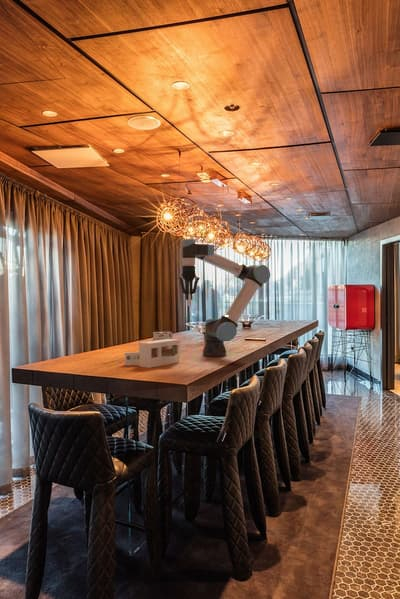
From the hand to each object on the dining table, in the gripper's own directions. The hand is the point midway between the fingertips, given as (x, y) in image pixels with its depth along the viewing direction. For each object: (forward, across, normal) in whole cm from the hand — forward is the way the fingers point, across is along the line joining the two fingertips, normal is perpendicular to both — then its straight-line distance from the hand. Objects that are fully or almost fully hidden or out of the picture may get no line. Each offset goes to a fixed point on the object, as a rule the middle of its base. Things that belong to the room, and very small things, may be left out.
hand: (188, 305), depth 273 cm
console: (+32, -20, -7) cm, 39 cm away
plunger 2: (+27, -14, -2) cm, 30 cm away
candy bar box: (+33, -13, +11) cm, 37 cm away
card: (+32, -34, -4) cm, 47 cm away
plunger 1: (+27, -27, -10) cm, 40 cm away
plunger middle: (+27, -17, -11) cm, 34 cm away
